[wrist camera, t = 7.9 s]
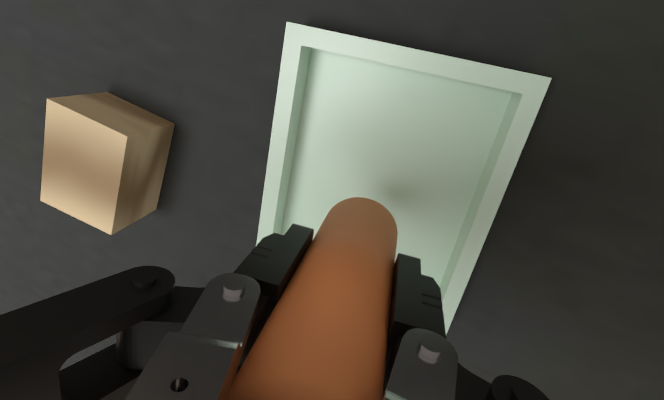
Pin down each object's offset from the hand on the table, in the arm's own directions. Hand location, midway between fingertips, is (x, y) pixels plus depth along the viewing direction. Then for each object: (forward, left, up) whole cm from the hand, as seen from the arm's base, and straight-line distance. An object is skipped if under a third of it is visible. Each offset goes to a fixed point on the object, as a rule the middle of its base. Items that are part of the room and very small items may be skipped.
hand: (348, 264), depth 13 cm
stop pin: (0, 0, -3) cm, 3 cm away
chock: (+2, -15, -9) cm, 17 cm away
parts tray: (0, 0, -8) cm, 8 cm away
